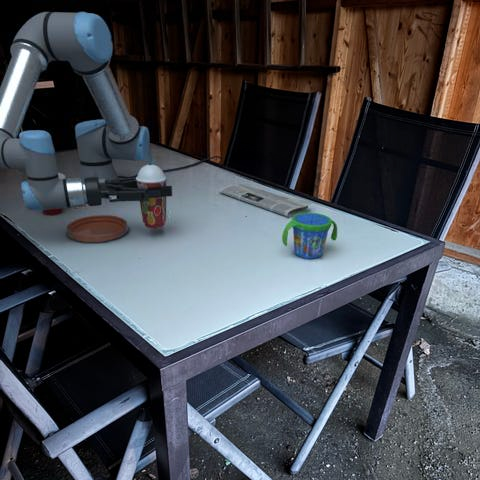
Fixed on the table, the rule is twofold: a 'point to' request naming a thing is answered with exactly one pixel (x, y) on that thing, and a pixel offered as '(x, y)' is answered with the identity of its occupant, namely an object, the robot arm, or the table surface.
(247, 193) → the newspaper
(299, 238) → the snack cup
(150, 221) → the smoothie
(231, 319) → the table surface
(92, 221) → the plate
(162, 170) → the robot arm
